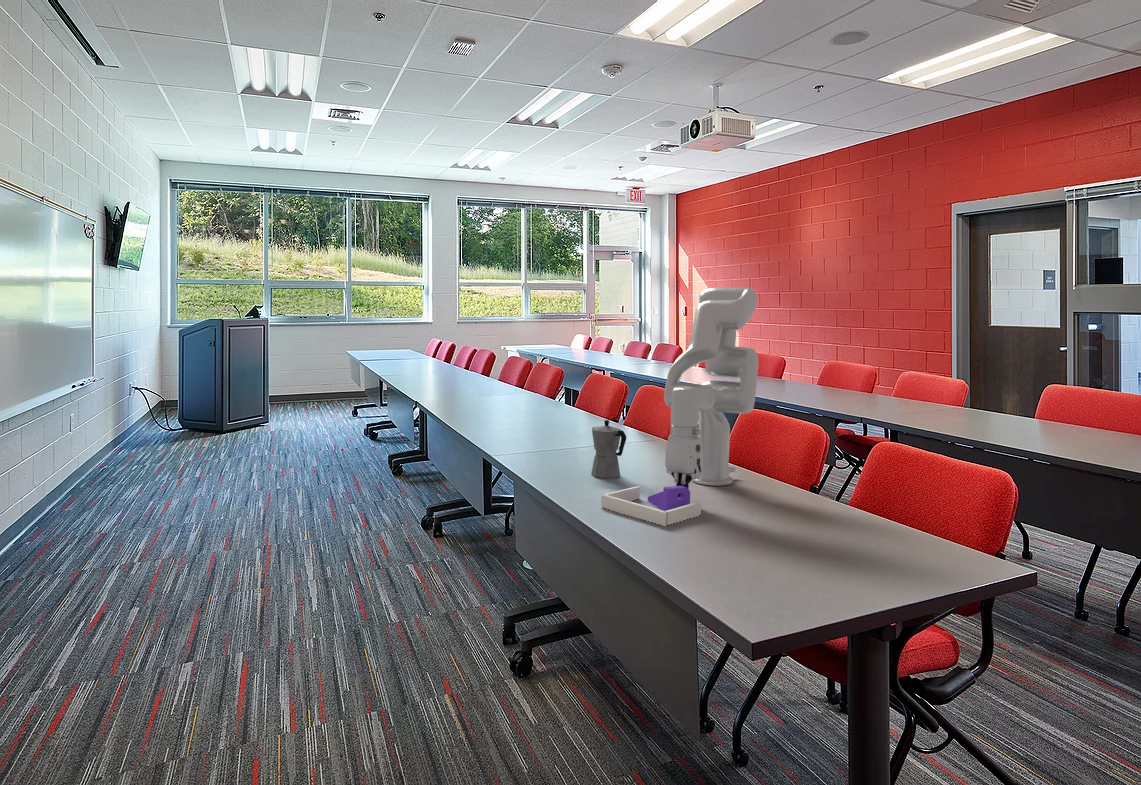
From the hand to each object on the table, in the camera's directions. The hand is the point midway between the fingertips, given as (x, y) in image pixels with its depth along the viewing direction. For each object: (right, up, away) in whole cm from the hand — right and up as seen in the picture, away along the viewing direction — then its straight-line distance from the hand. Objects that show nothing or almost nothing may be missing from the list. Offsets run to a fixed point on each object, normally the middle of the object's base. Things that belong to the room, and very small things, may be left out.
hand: (682, 496), depth 195 cm
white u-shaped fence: (-10, -3, -9) cm, 13 cm away
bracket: (-4, -3, -3) cm, 6 cm away
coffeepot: (-19, +2, +30) cm, 36 cm away
